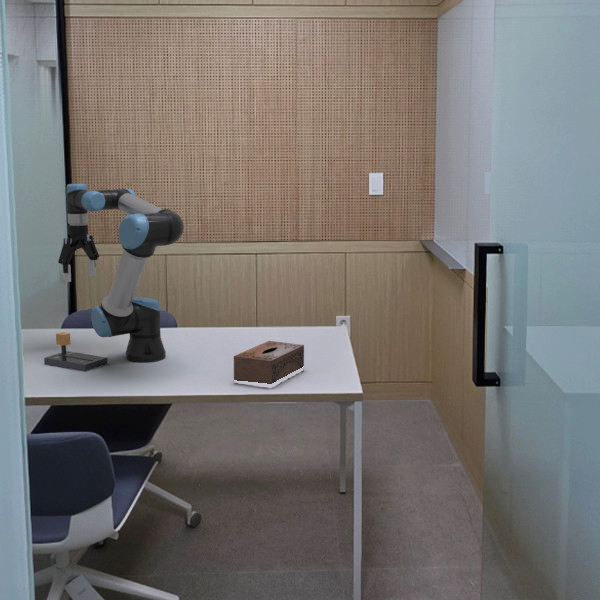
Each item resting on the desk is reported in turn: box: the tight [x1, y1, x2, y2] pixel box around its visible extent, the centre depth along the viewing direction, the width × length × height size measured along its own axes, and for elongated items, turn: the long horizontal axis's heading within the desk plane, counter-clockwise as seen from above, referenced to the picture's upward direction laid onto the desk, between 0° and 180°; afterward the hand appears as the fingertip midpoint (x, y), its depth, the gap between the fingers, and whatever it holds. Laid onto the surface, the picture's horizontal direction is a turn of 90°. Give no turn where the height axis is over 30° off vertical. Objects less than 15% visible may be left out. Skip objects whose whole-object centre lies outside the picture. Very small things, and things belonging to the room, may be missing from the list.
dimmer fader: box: [55, 332, 72, 355], centre depth 336 cm, size 4×3×8 cm
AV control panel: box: [43, 350, 108, 372], centre depth 334 cm, size 20×12×3 cm, turn 61°
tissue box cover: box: [233, 340, 305, 384], centre depth 318 cm, size 26×14×10 cm, turn 154°
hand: (80, 279), depth 349 cm, fingers open, 13 cm apart
